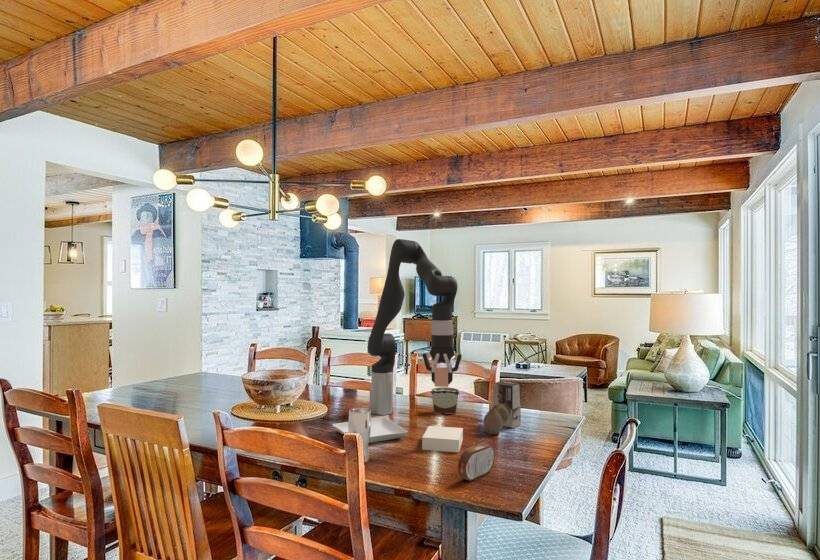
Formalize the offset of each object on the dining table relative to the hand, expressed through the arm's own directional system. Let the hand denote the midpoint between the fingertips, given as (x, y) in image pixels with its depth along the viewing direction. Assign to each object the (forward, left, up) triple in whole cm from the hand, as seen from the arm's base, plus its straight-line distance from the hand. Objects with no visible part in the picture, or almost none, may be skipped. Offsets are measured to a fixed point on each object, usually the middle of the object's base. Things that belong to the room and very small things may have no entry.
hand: (442, 382), depth 169 cm
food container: (-4, +42, -20) cm, 47 cm away
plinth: (+1, -3, -20) cm, 20 cm away
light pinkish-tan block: (0, 0, -1) cm, 1 cm away
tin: (+14, -29, -20) cm, 38 cm away
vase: (+17, +15, -20) cm, 30 cm away
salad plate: (-26, +1, -21) cm, 33 cm away
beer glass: (-22, -24, -20) cm, 38 cm away
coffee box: (+22, +28, -20) cm, 41 cm away
